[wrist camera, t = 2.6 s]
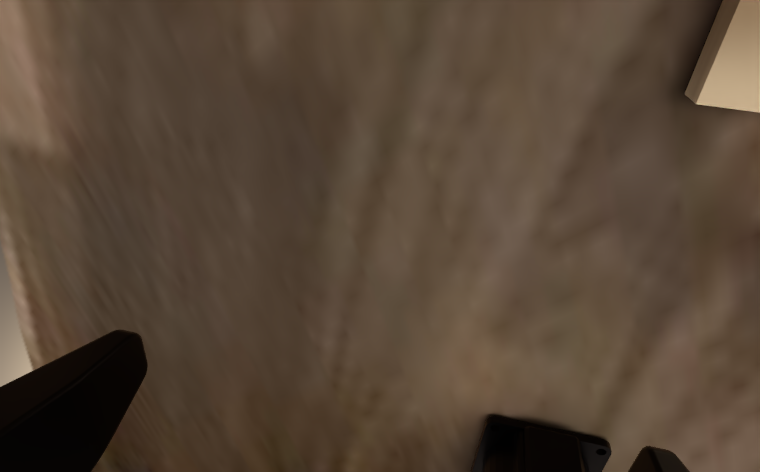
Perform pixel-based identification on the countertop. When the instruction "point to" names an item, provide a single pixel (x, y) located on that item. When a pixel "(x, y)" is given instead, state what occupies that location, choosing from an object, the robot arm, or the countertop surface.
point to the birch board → (730, 59)
